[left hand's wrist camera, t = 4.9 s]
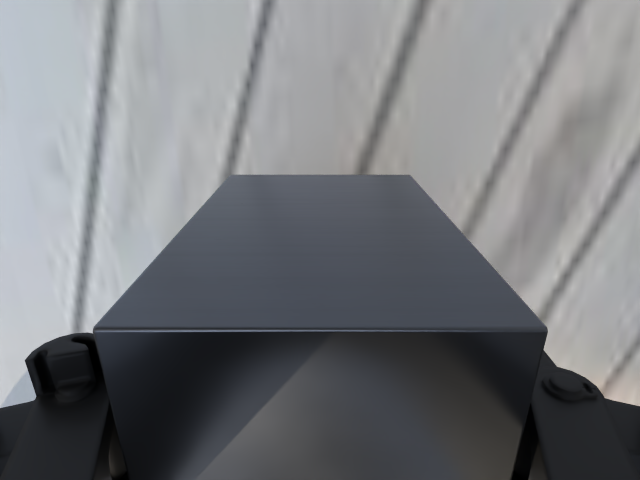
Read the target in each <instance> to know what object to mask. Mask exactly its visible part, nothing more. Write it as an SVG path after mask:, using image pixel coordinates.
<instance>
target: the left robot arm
mask: <svg viewBox="0 0 640 480" xmlns="http://www.w3.org/2000/svg"><path fill="white" fill-rule="evenodd" d="M25 362H26V365H27V368H28V371H29V375H30V378H31V381H32V384H33V387H34V390H35V393H36V396H37V397H36V399H35V400H34V401H31V402H27V403H22V404H18V405H13V406H8V407H4V408H0V480H129V478H128V474H127V470H126V466H125V462H124V458H123V454H122V449H121V445H120V441H119V437H118V433H117V429H116V425H115V421H114V416H113V412H112V408H111V404H110V400H109V396H108V392H107V388H106V384H105V379H104V375H103V371H102V367H101V363H100V359H99V355H98V351H97V346H96V342H95V338H94V334H92V333H75V334H70V335H66V336H62V337H59V338H56V339H54V340H52V341H49V342H47V343H45V344H43V345H42V346H40V347H39V348H37V349H35V350H34V351H33V352H32V353H31V354H30V355H29V356H28V357H27V358H26V360H25ZM512 480H640V406H636V405H631V404H626V403H622V402H617V401H613V400H609V399H605V398H604V396H603V394H602V393H601V392H600V390H599V389H598V388H597V386H595V385H594V384H593V383H592V382H590V381H589V380H588V379H586V378H585V377H583V376H581V375H579V374H577V373H575V372H573V371H570V370H566V369H563V368H559V367H557V366H556V365H555V364H554V362H553V361H552V360H551V359H550V358H549V356H548V355H547V354H546V353H545V351H544V350H543V353H542V357H541V361H540V365H539V370H538V374H537V378H536V382H535V386H534V390H533V394H532V398H531V402H530V406H529V411H528V415H527V419H526V423H525V427H524V431H523V435H522V439H521V443H520V447H519V451H518V456H517V460H516V464H515V468H514V472H513V476H512Z"/></svg>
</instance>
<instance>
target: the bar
mask: <svg viewBox="0 0 640 480" xmlns="http://www.w3.org/2000/svg"><path fill="white" fill-rule="evenodd" d="M547 333H548V330H547V327H546V326H545V325H544V324H543V322H542V321H541V320H540V319H539V318H538V317H537V316H536V315H535V314H534V312H533V311H532V310H531V309H530V308H529V307H528V306H527V305H526V304H525V302H524V301H523V300H522V299H521V298H520V297H519V296H518V295H517V294H516V292H515V291H514V290H513V289H512V288H511V287H510V286H509V285H508V283H507V282H506V281H505V280H504V279H503V278H502V277H501V276H500V275H499V273H498V272H497V271H496V270H495V269H494V268H493V267H492V266H491V265H490V263H489V262H488V261H487V260H486V259H485V258H484V257H483V256H482V255H481V253H480V252H479V251H478V250H477V249H476V248H475V247H474V246H473V245H472V243H471V242H470V241H469V240H468V239H467V238H466V237H465V236H464V235H463V233H462V232H461V231H460V230H459V229H458V228H457V227H456V226H455V224H454V223H453V222H452V221H451V220H450V219H449V218H448V217H447V216H446V214H445V213H444V212H443V211H442V210H441V209H440V208H439V207H438V206H437V204H436V203H435V202H434V201H433V200H432V199H431V198H430V197H429V196H428V194H427V193H426V192H425V191H424V190H423V189H422V188H421V187H420V186H419V184H418V183H417V182H416V181H415V180H414V179H413V178H412V177H411V176H410V175H230V176H229V177H228V178H227V179H226V180H225V181H224V183H223V184H222V185H221V186H220V187H219V188H218V189H217V190H216V191H215V193H214V194H213V195H212V196H211V197H210V198H209V199H208V200H207V201H206V203H205V204H204V205H203V206H202V207H201V208H200V209H199V210H198V212H197V213H196V214H195V215H194V216H193V217H192V218H191V219H190V220H189V222H188V223H187V224H186V225H185V226H184V227H183V228H182V229H181V230H180V232H179V233H178V234H177V235H176V236H175V237H174V238H173V239H172V240H171V242H170V243H169V244H168V245H167V246H166V247H165V248H164V249H163V251H162V252H161V253H160V254H159V255H158V256H157V257H156V258H155V259H154V261H153V262H152V263H151V264H150V265H149V266H148V267H147V268H146V269H145V271H144V272H143V273H142V274H141V275H140V276H139V277H138V278H137V279H136V281H135V282H134V283H133V284H132V285H131V286H130V287H129V288H128V290H127V291H126V292H125V293H124V294H123V295H122V296H121V297H120V298H119V300H118V301H117V302H116V303H115V304H114V305H113V306H112V307H111V308H110V310H109V311H108V312H107V313H106V314H105V315H104V316H103V317H102V319H101V320H100V321H99V322H98V323H97V324H96V325H95V326H94V328H93V334H94V338H95V342H96V346H97V351H98V355H99V359H100V363H101V367H102V371H103V375H104V379H105V384H106V388H107V392H108V396H109V400H110V404H111V408H112V412H113V416H114V421H115V425H116V429H117V433H118V437H119V441H120V445H121V449H122V454H123V458H124V462H125V466H126V470H127V474H128V478H129V480H512V476H513V472H514V468H515V464H516V460H517V456H518V451H519V447H520V443H521V439H522V435H523V431H524V427H525V423H526V419H527V415H528V411H529V406H530V402H531V398H532V394H533V390H534V386H535V382H536V378H537V374H538V370H539V365H540V361H541V357H542V353H543V349H544V345H545V341H546V337H547Z"/></svg>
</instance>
